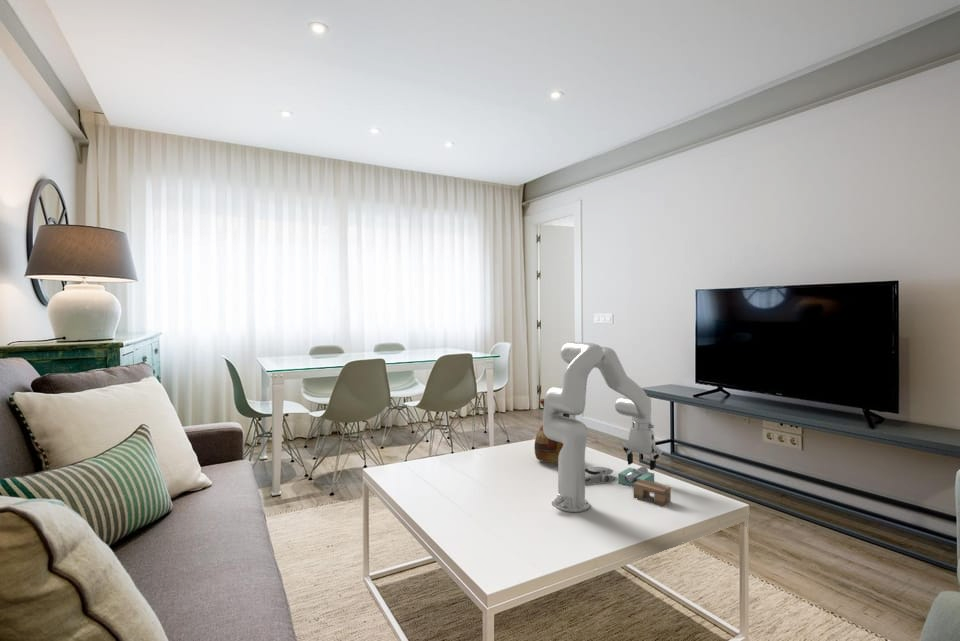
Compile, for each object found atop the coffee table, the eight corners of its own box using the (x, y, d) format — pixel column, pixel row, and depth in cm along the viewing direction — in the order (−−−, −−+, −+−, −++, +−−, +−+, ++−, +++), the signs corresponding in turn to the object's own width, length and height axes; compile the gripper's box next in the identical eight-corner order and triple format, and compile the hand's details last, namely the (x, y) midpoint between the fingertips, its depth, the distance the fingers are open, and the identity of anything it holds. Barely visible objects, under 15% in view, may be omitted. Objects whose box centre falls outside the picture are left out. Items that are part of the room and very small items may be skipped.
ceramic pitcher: (553, 452, 235) (553, 392, 235) (586, 462, 220) (586, 398, 219) (525, 460, 223) (525, 397, 222) (558, 471, 207) (558, 404, 207)
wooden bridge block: (663, 506, 170) (663, 491, 170) (633, 497, 178) (633, 483, 178) (670, 501, 175) (670, 487, 175) (640, 493, 183) (640, 479, 183)
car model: (556, 481, 197) (556, 469, 197) (602, 472, 207) (602, 461, 207) (571, 490, 187) (571, 477, 187) (620, 481, 197) (620, 469, 197)
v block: (643, 489, 186) (643, 479, 186) (618, 483, 194) (618, 473, 194) (654, 483, 193) (654, 473, 193) (629, 476, 201) (629, 467, 201)
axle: (632, 483, 187) (631, 475, 188) (625, 482, 190) (624, 474, 190) (648, 474, 197) (647, 466, 198) (641, 473, 200) (640, 465, 200)
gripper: (665, 427, 193) (665, 469, 193) (626, 420, 205) (626, 459, 205) (657, 431, 188) (657, 473, 188) (617, 423, 200) (617, 463, 200)
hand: (641, 466), depth 197 cm, fingers open, 9 cm apart
